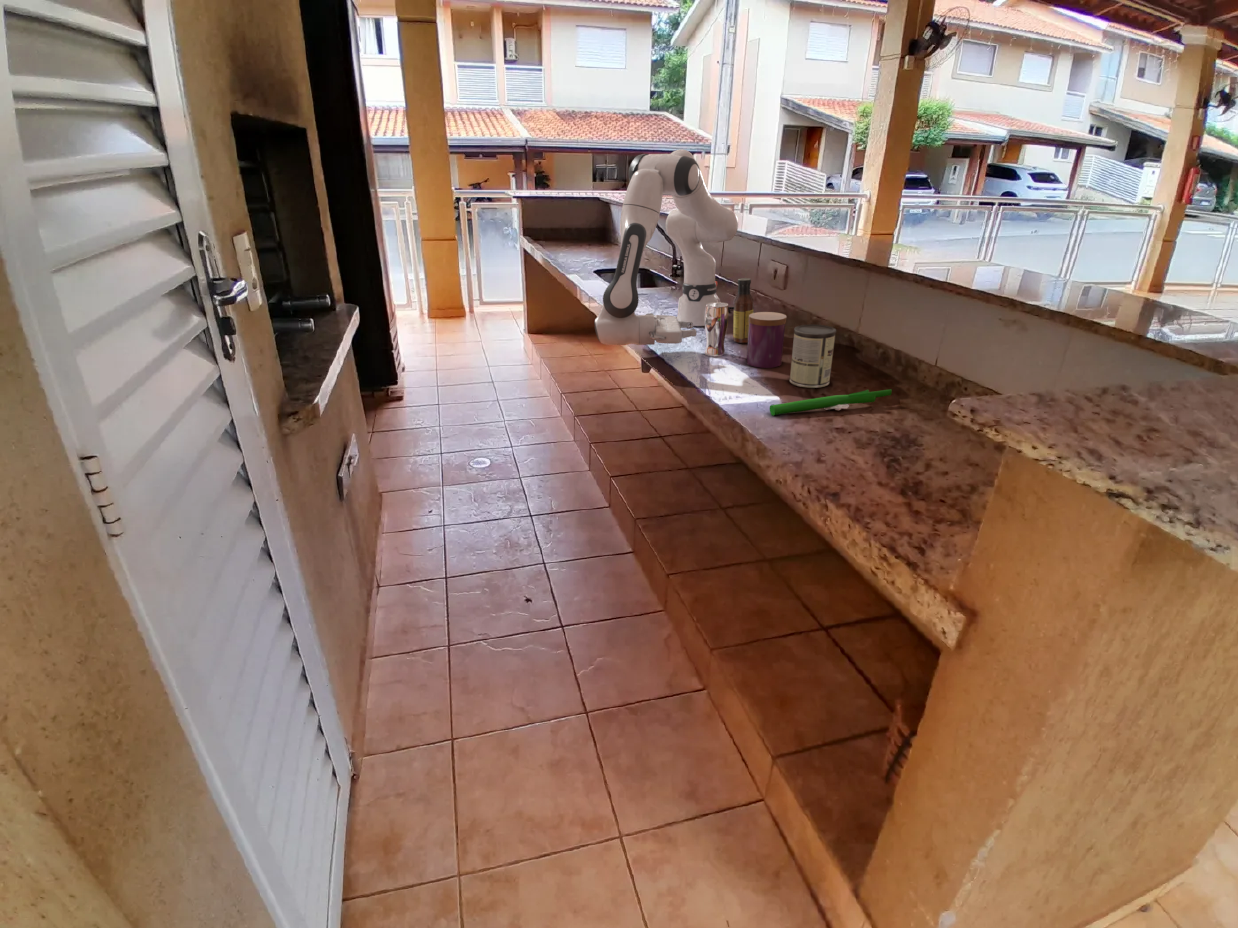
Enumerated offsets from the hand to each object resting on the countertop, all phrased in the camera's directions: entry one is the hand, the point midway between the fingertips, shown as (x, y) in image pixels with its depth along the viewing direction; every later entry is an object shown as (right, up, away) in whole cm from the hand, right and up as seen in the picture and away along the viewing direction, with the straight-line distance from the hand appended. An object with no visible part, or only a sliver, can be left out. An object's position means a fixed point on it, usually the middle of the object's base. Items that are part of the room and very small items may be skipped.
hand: (694, 328), depth 185 cm
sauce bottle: (+17, -1, +16) cm, 23 cm away
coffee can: (+28, -19, -22) cm, 40 cm away
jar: (+19, -11, -6) cm, 23 cm away
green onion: (+27, -28, -40) cm, 56 cm away
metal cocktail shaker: (+7, -7, +3) cm, 10 cm away
